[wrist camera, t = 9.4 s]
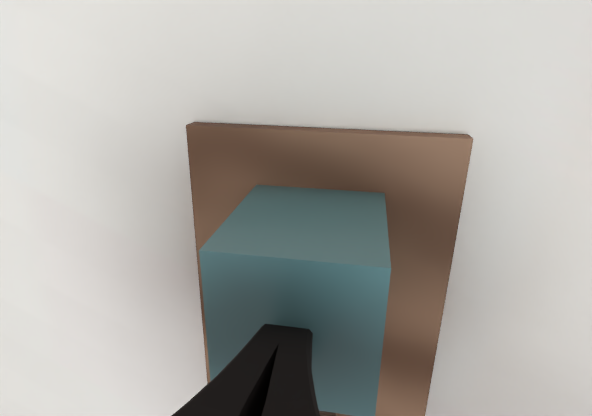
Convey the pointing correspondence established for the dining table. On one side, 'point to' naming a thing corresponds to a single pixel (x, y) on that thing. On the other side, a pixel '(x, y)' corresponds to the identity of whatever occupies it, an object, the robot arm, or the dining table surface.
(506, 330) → the dining table surface
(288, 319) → the teal foam cube
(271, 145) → the base board
